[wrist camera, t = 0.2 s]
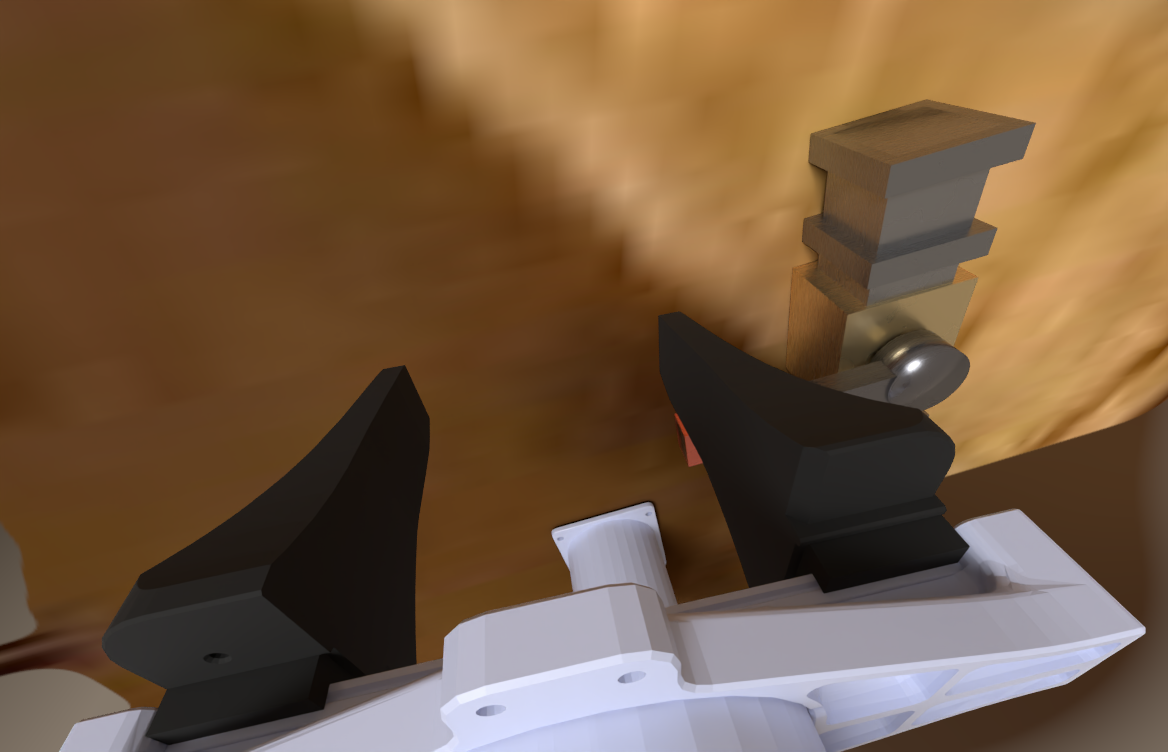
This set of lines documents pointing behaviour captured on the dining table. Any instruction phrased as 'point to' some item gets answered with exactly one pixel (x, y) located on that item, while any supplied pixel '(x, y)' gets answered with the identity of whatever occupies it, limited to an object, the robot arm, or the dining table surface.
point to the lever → (889, 377)
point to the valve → (894, 231)
